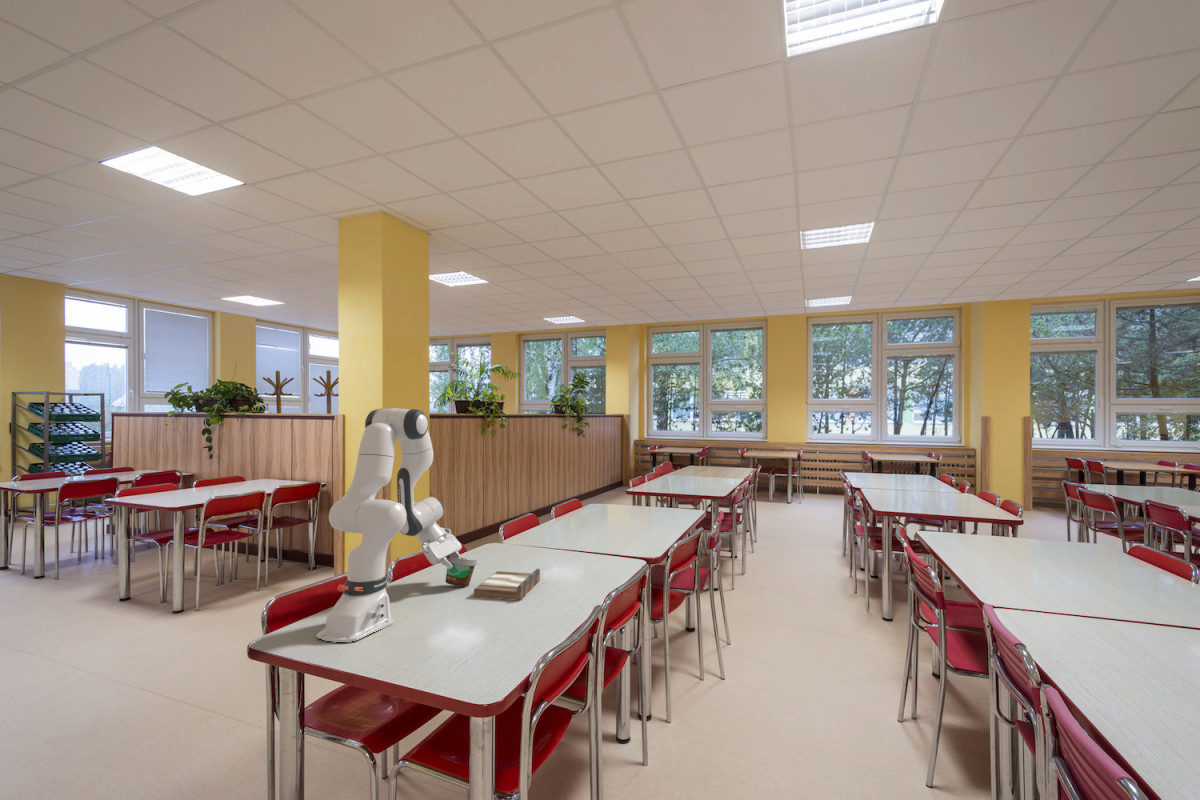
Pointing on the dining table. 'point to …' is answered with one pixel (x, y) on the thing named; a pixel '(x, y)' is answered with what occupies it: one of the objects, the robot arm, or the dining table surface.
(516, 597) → the block
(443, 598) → the dining table surface
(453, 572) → the food container
